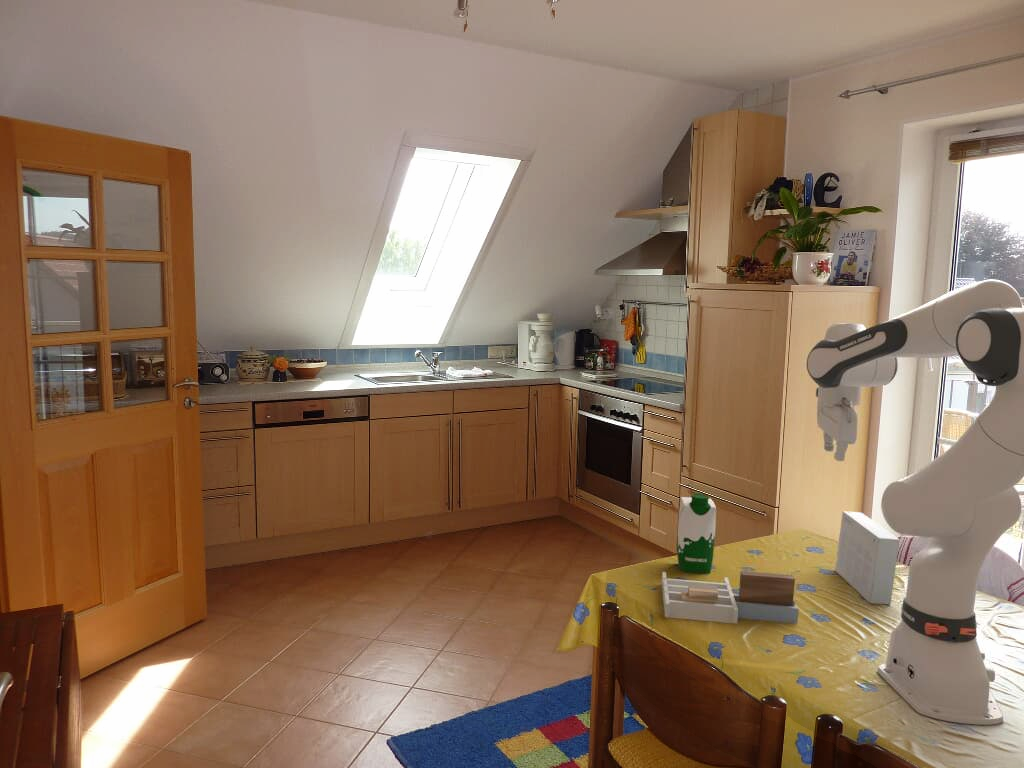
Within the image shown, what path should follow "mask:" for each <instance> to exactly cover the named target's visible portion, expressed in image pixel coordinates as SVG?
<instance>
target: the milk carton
mask: <svg viewBox="0 0 1024 768" xmlns="http://www.w3.org/2000/svg"><path fill="white" fill-rule="evenodd" d="M679 505H680V506H679V509H678V511H679V512H678V526H677V527H678V528H677V538H676V539H677V542H676V543H677V544H676V554H677V555H676V556H677V565H678V566H679V570H680V572H682V573H694V574H711V571H712V565H713V560H714V553H715V552H714V548H715V535H716V524H717V523H716V521H717V520H716V519H717V518H716V517H717V506H716V504H715V502H714V501H713V500H712V498H709V495H706V494H704V493H703V494H702V493H693V494H692V495H691V497H690V496H689V497H687V496H686V497H685V496H681V497H680V504H679Z"/></svg>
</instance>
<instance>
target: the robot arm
mask: <svg viewBox="0 0 1024 768" xmlns="http://www.w3.org/2000/svg"><path fill="white" fill-rule="evenodd" d="M953 356H954V357H955V356H959V358H960V359H961V361H962V363H963V364H964V366H965V367H966V369H968V370H969V371H970V372H972V373H974V375H975V377H976V380H978V382H979V383H981V384H982V385H985V386H988V387H995V392H994V395H993V397H992V398H991V399H990V401H989V402H988V403H987V404H986V406H985V407H984V408H983V409H982V410H981V412H980V413H979V414H978V416H977V417H976V418H975V419H974V421H973V422H972V423H971V424H970V425H969V426H968V428H967V429H966V430H965V431H964V433H962V435H961V436H960V437H959V438H958V439H957V440H956V442H955V443H954V444H952V446H950V447H949V448H948V449H947V450H945V451H944V452H942V453H941V454H940V455H938V456H937V457H936V458H934V459H933V460H931V461H929V462H928V463H927V464H926V465H924V466H923V467H921V468H919V470H916V471H914V472H913V473H911V474H909V475H907V476H906V477H902V478H901V479H897V480H895V481H893V482H891V483H890V484H888V485H887V486H886V488H885V489H884V491H883V494H882V497H881V504H880V507H881V508H880V509H881V512H882V516H883V518H884V520H885V522H886V523H887V525H888V526H889V528H890V529H891V530H893V531H894V532H895V533H897V534H901V535H906V536H910V537H917V538H923V539H924V538H925V539H927V538H929V539H930V541H929V542H928V543H927V544H926V545H925V547H923V548H922V549H921V550H919V551H918V552H917V553H916V554H914V556H913V557H912V558H911V560H910V562H909V567H908V576H907V586H906V593H905V597H904V598H903V601H902V604H901V609H900V610H901V613H900V617H901V621H900V622H899V624H898V625H897V626H896V627H895V628H894V629H893V630H892V631H891V633H890V639H889V645H888V650H887V653H886V654H887V656H886V661H885V663H881V664H879V665H878V666H877V673H878V674H879V676H880V677H882V679H884V681H886V682H887V684H888V685H890V686H891V687H892V688H893V690H894V691H896V692H897V693H898V695H900V697H901V698H903V700H905V702H906V703H907V704H909V705H910V706H911V708H913V710H915V711H916V713H918V714H921V715H923V716H925V717H929V718H933V719H936V720H940V721H944V722H945V721H946V722H951V723H957V724H967V725H978V726H980V725H981V726H983V725H984V726H987V725H988V726H989V725H998V724H1001V723H1003V722H1004V716H1003V713H1002V711H1001V709H1000V707H999V704H998V703H997V700H996V698H995V696H994V694H993V692H992V690H991V688H990V685H991V684H990V683H993V682H995V681H996V680H995V679H996V672H995V669H994V668H991V667H986V665H985V662H984V661H985V659H986V654H985V653H986V652H984V651H981V649H980V646H979V643H978V640H977V638H976V637H977V627H978V626H977V625H978V624H977V619H976V618H977V617H976V613H975V605H976V604H975V603H976V596H977V589H978V584H979V579H980V574H981V571H982V569H983V566H984V564H985V562H986V559H988V556H989V554H990V552H991V551H992V549H993V548H994V546H995V544H996V543H997V541H998V540H999V539H1000V538H1001V537H1002V536H1003V534H1005V533H1006V532H1007V531H1008V530H1009V529H1011V528H1012V527H1014V525H1016V524H1017V522H1018V521H1019V519H1020V516H1021V514H1022V501H1021V497H1020V495H1019V493H1018V491H1017V489H1016V488H1015V486H1016V485H1017V484H1019V483H1020V482H1021V481H1022V479H1023V478H1024V304H1023V301H1022V298H1021V296H1020V294H1019V292H1018V291H1017V290H1016V289H1015V288H1014V287H1013V286H1012V285H1011V284H1009V283H1007V282H1005V281H1003V280H1000V279H985V280H982V281H981V280H980V281H976V282H972V283H970V284H966V285H964V286H962V287H959V288H956V289H954V290H951V291H949V292H947V293H945V294H943V295H941V296H939V297H937V298H935V299H933V300H931V301H929V302H927V303H925V304H923V305H920V306H919V307H917V308H915V309H912V310H910V311H908V312H906V313H902V314H899V315H898V316H896V317H894V318H891V319H889V320H886V321H884V322H881V323H878V324H876V325H873V326H871V327H869V328H866V327H865V325H863V324H862V323H857V322H845V323H843V322H841V323H834V324H832V325H830V326H829V327H827V329H826V332H825V335H824V339H822V340H820V341H819V342H817V343H816V344H815V345H814V346H813V347H812V349H811V350H810V352H809V353H808V355H807V359H806V370H807V373H808V375H809V376H810V378H811V380H812V381H814V383H815V384H817V385H818V387H816V388H815V397H816V398H817V406H816V415H817V416H816V418H817V419H816V421H817V426H818V428H819V429H821V430H822V431H823V435H822V436H823V449H824V450H825V452H830V453H831V452H834V455H833V457H834V460H835V461H837V462H844V461H845V456H846V452H847V450H848V448H849V445H855V444H856V441H857V438H858V436H857V435H858V412H857V409H855V408H854V407H856V406H859V405H860V404H861V399H862V390H863V389H862V388H863V387H864V388H867V387H868V388H871V387H874V388H876V387H881V386H887V385H888V384H891V382H892V381H893V380H894V378H895V376H896V374H897V372H898V368H899V358H921V359H923V358H924V359H940V358H941V359H942V358H949V357H953ZM834 440H835V442H836V443H835V445H836V448H835V451H834V447H835V445H834Z"/></svg>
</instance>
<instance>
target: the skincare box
mask: <svg viewBox="0 0 1024 768" xmlns="http://www.w3.org/2000/svg"><path fill="white" fill-rule="evenodd" d="M841 515H842V516H841V521H840V522H841V523H840V531H839V536H838V538H839V539H838V543H837V544H838V545H837V552H836V558H835V559H836V560H835V567H834V571H835V572H837V574H839V576H841V578H843V579H844V581H845V582H847V583H848V584H849V585H850V586H851V587H852V588H853V589H854V590H855V591H857V593H858V594H859V595H861V596H862V597H863V599H865V600H866V601H867V602H868V603H869V604H876V605H891V604H892V596H893V589H894V581H895V574H896V569H897V568H896V567H897V561H898V560H897V559H898V554H899V553H898V552H899V546H900V538H899V537H897V536H895V535H894V534H893V533H891V532H890V531H889V530H887V529H885V528H884V526H883V527H882V526H881V525H880V524H878V523H877V522H875V521H874V520H873V519H871V517H869V516H867V515H866V514H864V513H863V512H859V511H845V510H842V514H841Z"/></svg>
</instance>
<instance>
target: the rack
mask: <svg viewBox="0 0 1024 768" xmlns="http://www.w3.org/2000/svg"><path fill="white" fill-rule="evenodd" d="M661 573H662V574H661V592H662V602H663V611H664V617H665V618H673V619H683V620H692V621H694V620H695V621H705V622H714V623H715V622H716V623H726V624H738V619H739V618H738V608H737V605H736V602H735V599H734V595H733V594H734V593H733V590H732V587H731V583H730V581H729V578H728V577H726V576H725V577H723V583H722V582H714V581H713V582H712V581H701V580H700V581H699V580H689V579H678V578H667V572H666V571H661ZM688 585H697V586H708V587H717V590H718V601H715V603H718V604H708V603H697V602H686V601H680V600H681V592H687V593H688Z"/></svg>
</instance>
